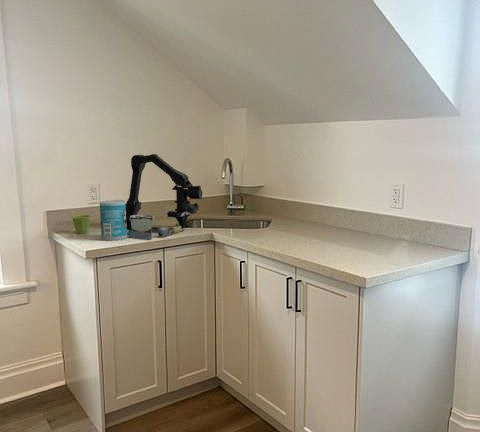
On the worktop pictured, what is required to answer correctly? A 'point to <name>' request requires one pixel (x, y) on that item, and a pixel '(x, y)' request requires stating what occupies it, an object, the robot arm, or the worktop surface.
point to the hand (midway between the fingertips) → (182, 228)
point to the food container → (142, 223)
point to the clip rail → (165, 232)
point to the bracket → (144, 235)
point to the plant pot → (81, 223)
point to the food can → (113, 220)
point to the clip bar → (176, 229)
